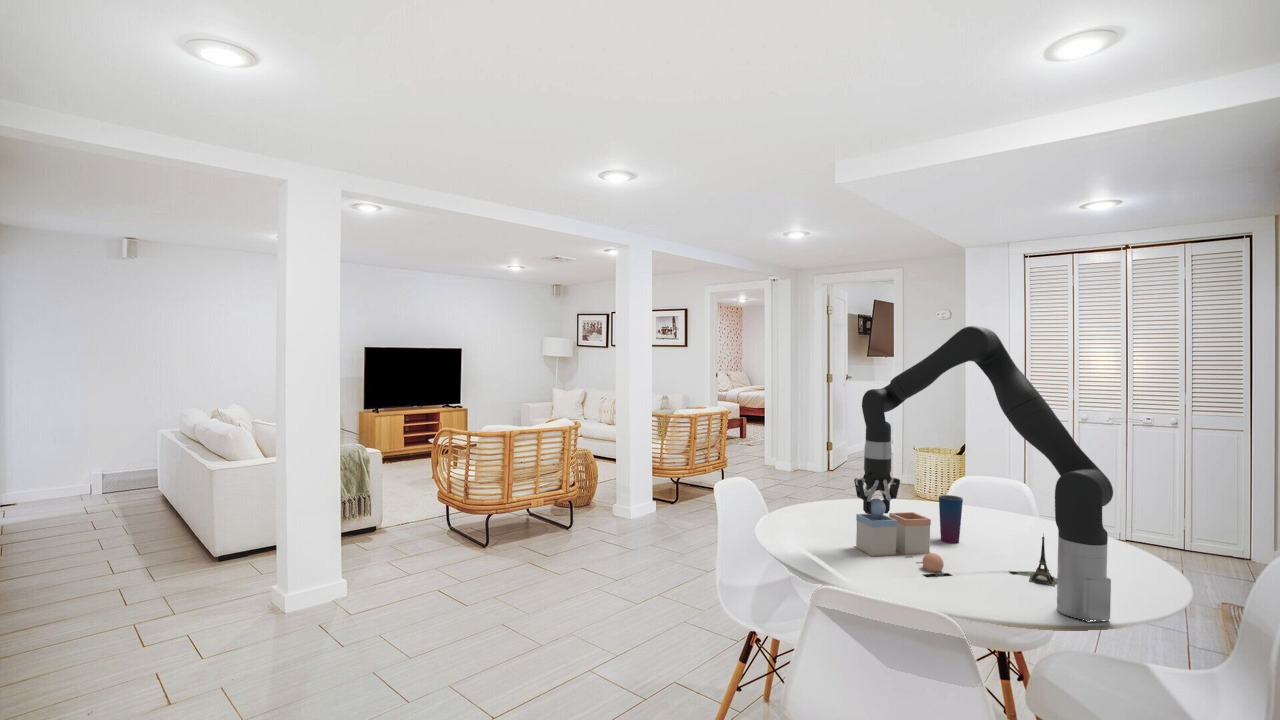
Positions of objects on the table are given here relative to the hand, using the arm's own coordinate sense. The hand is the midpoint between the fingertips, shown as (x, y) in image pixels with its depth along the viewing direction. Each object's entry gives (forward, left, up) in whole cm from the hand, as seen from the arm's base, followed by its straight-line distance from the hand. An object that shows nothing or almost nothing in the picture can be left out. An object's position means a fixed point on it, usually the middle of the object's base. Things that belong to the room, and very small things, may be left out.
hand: (876, 512), depth 183 cm
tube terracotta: (0, -11, -11) cm, 16 cm away
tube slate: (0, 0, -11) cm, 11 cm away
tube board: (0, -6, -13) cm, 14 cm away
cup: (+6, -30, -13) cm, 33 cm away
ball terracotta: (-17, -7, -12) cm, 22 cm away
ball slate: (0, 0, -1) cm, 1 cm away
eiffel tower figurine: (-27, -33, -13) cm, 44 cm away
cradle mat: (-13, -7, -13) cm, 19 cm away
